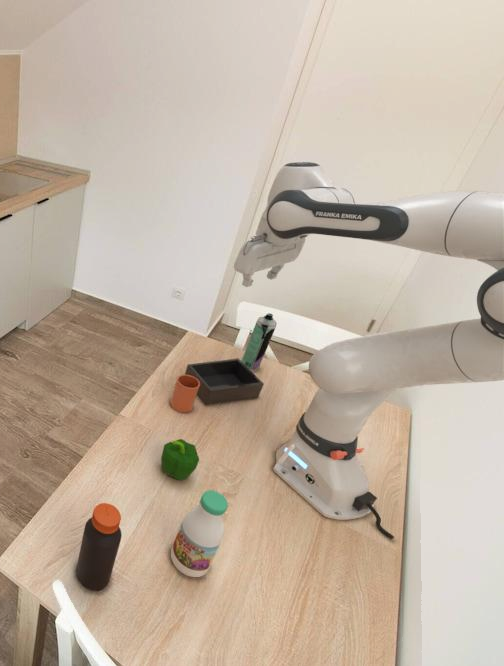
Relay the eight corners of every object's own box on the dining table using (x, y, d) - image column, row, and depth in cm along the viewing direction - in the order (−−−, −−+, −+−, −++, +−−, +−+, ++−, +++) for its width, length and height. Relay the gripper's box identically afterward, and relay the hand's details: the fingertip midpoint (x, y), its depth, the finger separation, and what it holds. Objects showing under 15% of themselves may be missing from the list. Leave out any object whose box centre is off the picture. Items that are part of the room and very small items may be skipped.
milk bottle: (178, 536, 103) (202, 476, 92) (213, 558, 99) (243, 497, 88) (163, 562, 98) (187, 501, 87) (200, 586, 94) (229, 526, 83)
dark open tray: (258, 397, 142) (264, 383, 139) (205, 405, 139) (210, 390, 136) (232, 372, 152) (238, 358, 149) (183, 378, 149) (187, 364, 146)
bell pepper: (197, 470, 119) (208, 442, 113) (185, 490, 113) (195, 462, 108) (166, 453, 123) (174, 425, 117) (152, 472, 118) (161, 444, 112)
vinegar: (69, 566, 97) (80, 505, 86) (97, 554, 99) (112, 493, 88) (87, 597, 92) (101, 537, 81) (116, 584, 94) (134, 523, 83)
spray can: (260, 372, 152) (282, 320, 141) (242, 370, 153) (262, 318, 142) (256, 362, 157) (277, 311, 146) (238, 360, 158) (258, 308, 147)
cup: (196, 411, 137) (204, 387, 132) (176, 413, 135) (184, 389, 130) (185, 396, 142) (192, 373, 137) (166, 399, 140) (173, 375, 135)
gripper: (259, 242, 108) (241, 295, 115) (315, 229, 116) (294, 279, 124) (237, 233, 112) (220, 284, 120) (292, 220, 121) (273, 269, 128)
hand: (258, 281), depth 122 cm, fingers open, 8 cm apart
